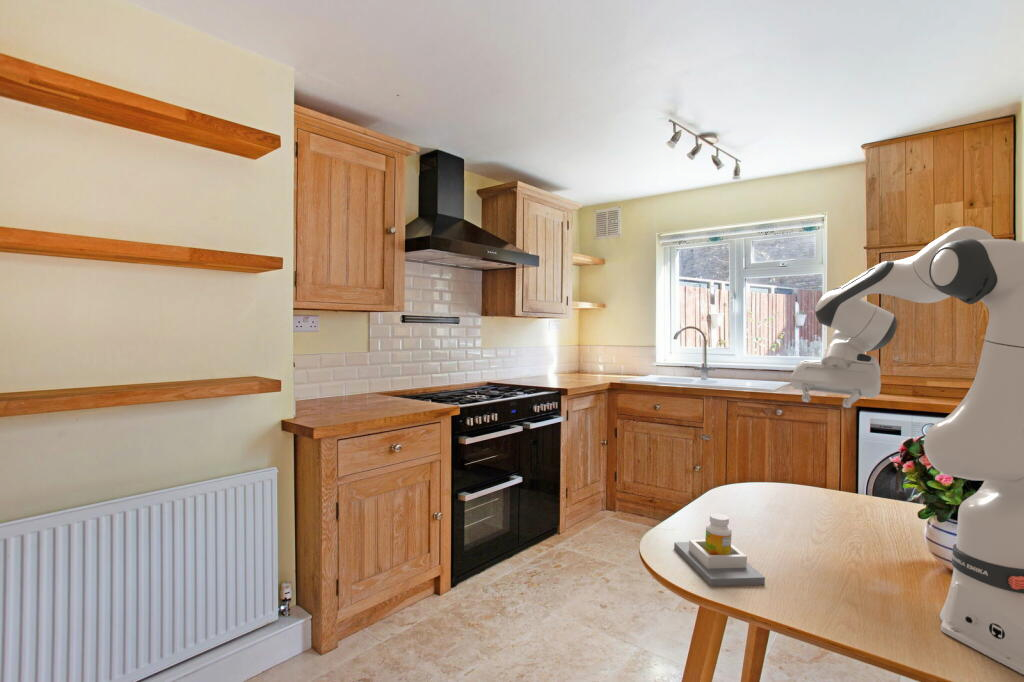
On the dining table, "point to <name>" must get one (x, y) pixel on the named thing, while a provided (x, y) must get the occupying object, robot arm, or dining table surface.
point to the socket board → (719, 565)
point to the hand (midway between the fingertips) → (825, 403)
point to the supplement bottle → (718, 535)
